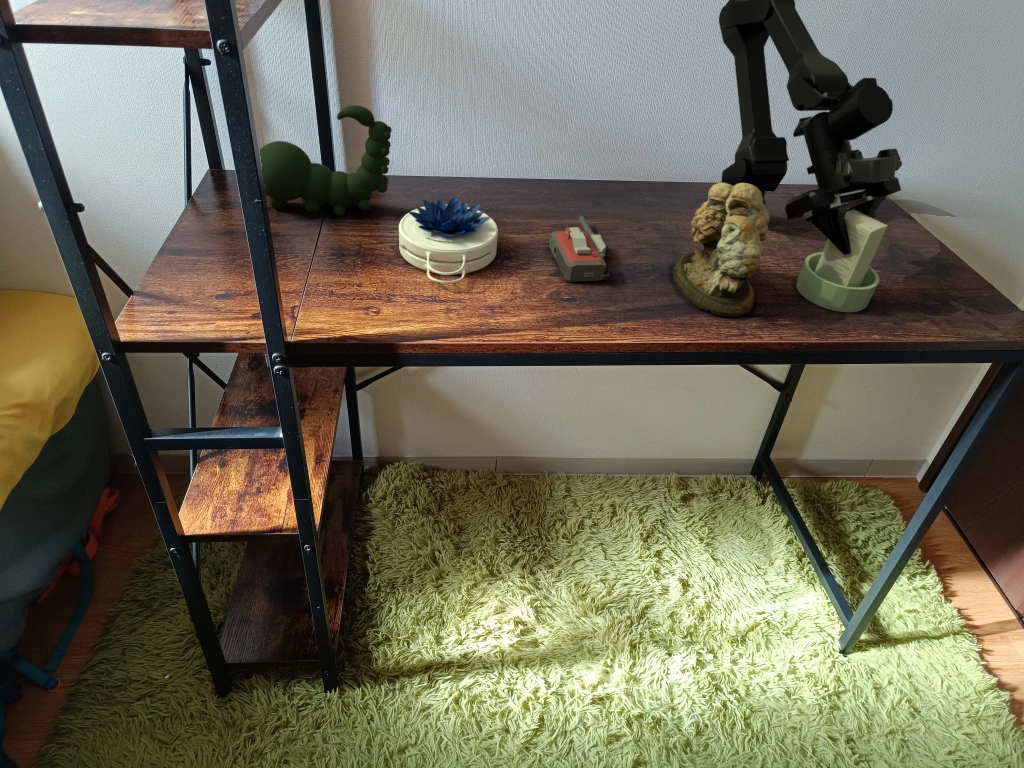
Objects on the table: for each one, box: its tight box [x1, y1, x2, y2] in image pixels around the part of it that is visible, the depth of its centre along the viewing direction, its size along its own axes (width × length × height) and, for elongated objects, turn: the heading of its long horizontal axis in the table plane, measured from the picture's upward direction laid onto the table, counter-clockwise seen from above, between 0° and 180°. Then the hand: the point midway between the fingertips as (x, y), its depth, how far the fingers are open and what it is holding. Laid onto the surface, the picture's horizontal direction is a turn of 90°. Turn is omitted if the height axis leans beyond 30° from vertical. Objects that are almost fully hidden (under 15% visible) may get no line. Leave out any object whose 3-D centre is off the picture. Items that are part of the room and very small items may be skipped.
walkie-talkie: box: [549, 215, 610, 283], centre depth 113 cm, size 9×4×20 cm
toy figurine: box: [259, 104, 393, 217], centre depth 114 cm, size 9×19×25 cm
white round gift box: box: [398, 197, 499, 284], centre depth 108 cm, size 7×16×20 cm
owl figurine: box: [672, 182, 770, 318], centre depth 104 cm, size 18×12×17 cm, turn 11°
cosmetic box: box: [815, 210, 888, 288], centre depth 107 cm, size 6×4×12 cm
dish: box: [795, 251, 880, 313], centre depth 110 cm, size 11×11×4 cm
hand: (857, 251), depth 105 cm, fingers closed on cosmetic box, 4 cm apart
